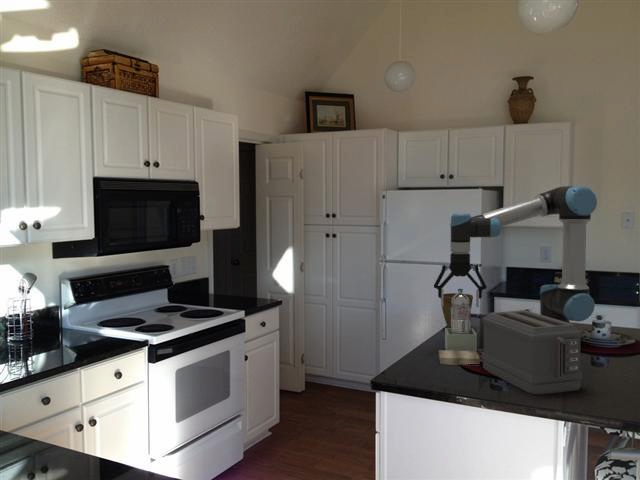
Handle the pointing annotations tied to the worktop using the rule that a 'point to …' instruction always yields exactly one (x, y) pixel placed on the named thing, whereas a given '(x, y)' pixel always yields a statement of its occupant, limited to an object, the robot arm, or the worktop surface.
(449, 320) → the plant pot
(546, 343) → the toaster
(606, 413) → the worktop surface
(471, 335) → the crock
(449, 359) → the board
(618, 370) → the worktop surface
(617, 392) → the worktop surface
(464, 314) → the water bottle
